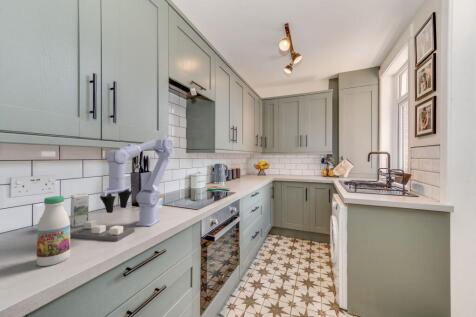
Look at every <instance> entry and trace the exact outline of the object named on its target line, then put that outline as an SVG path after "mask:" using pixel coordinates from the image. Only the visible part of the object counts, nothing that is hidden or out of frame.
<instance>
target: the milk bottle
mask: <svg viewBox="0 0 476 317" xmlns="http://www.w3.org/2000/svg"><path fill="white" fill-rule="evenodd" d="M43 203H44V204H43V205H44V206H45V207H44V211H43V213H42V215H41V217H40V218H39V221H38V223H37V225H36V226H37V227H36V228H37V229H36V264H37V266H40V267H47V266H48V267H49V266H53V265H56V264H60V263H63V262H65V261H66V260H68V259H69V258H70V256H71V237H70V233H71V219H70V217H69V215H68V213H67V212H66V210H65V207H64V204H65V196H63V195H53V196H48V197H45V198H44V200H43Z"/></svg>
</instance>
